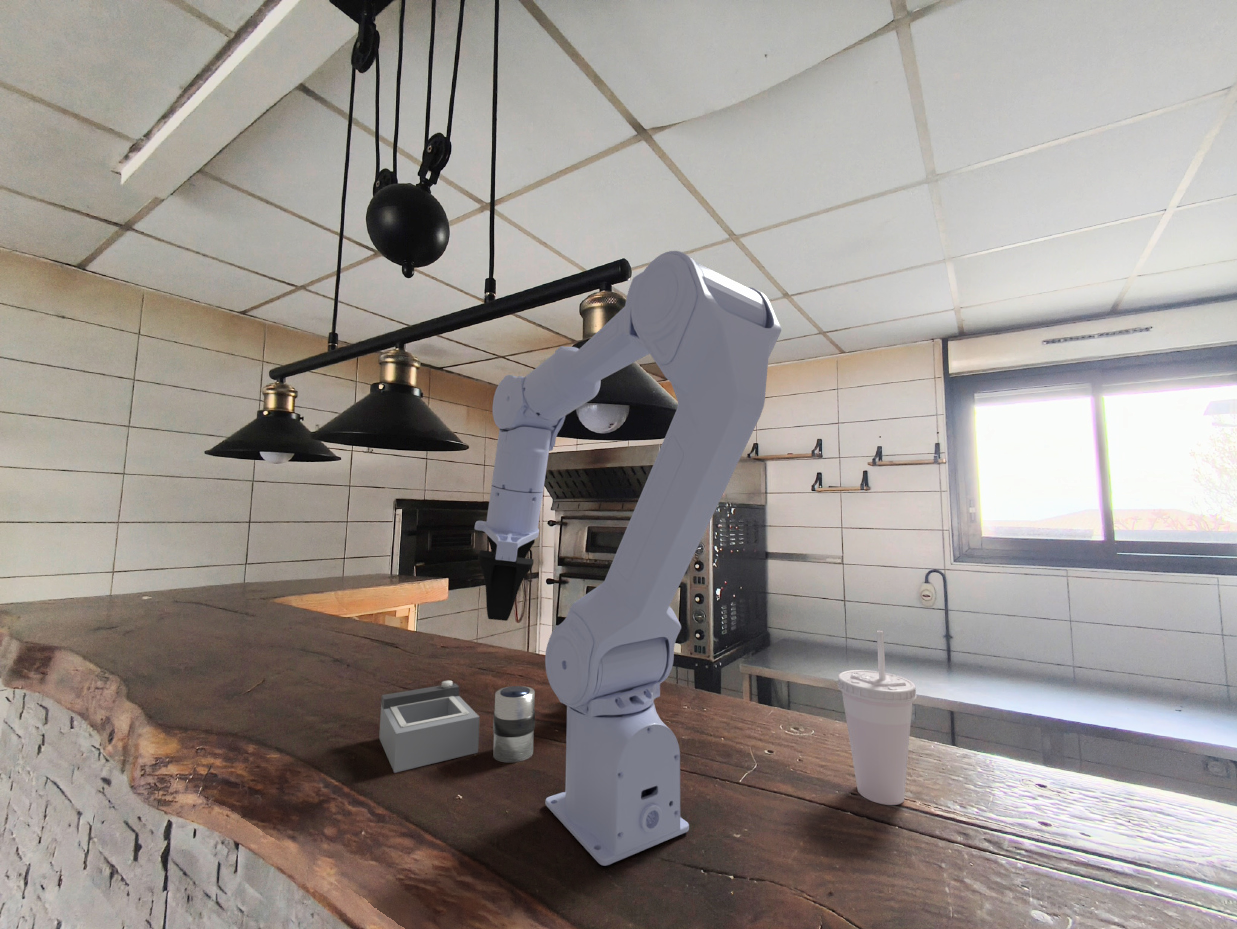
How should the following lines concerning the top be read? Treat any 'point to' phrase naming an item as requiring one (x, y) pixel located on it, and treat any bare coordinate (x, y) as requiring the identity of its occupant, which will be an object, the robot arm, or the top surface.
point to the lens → (514, 724)
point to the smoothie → (878, 728)
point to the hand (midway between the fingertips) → (500, 605)
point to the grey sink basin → (427, 726)
